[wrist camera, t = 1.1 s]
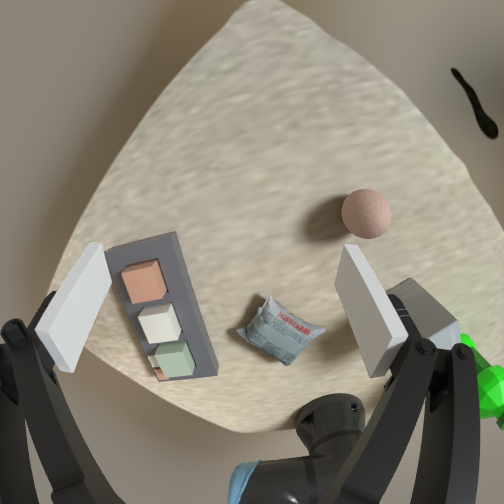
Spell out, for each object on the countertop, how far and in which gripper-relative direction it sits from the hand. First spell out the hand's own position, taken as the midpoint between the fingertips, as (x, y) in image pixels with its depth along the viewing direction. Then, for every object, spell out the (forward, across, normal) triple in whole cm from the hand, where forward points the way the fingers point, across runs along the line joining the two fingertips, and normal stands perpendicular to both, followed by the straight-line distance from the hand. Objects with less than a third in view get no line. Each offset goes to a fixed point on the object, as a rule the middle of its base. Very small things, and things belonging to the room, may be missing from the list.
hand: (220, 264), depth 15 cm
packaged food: (+21, -8, +26) cm, 35 cm away
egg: (+25, -18, +8) cm, 32 cm away
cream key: (+20, +10, +24) cm, 33 cm away
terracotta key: (+22, +12, +18) cm, 31 cm away
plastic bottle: (+17, -46, +34) cm, 59 cm away
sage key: (+18, +9, +31) cm, 37 cm away
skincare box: (+21, -30, +23) cm, 43 cm away
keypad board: (+22, +10, +25) cm, 34 cm away
